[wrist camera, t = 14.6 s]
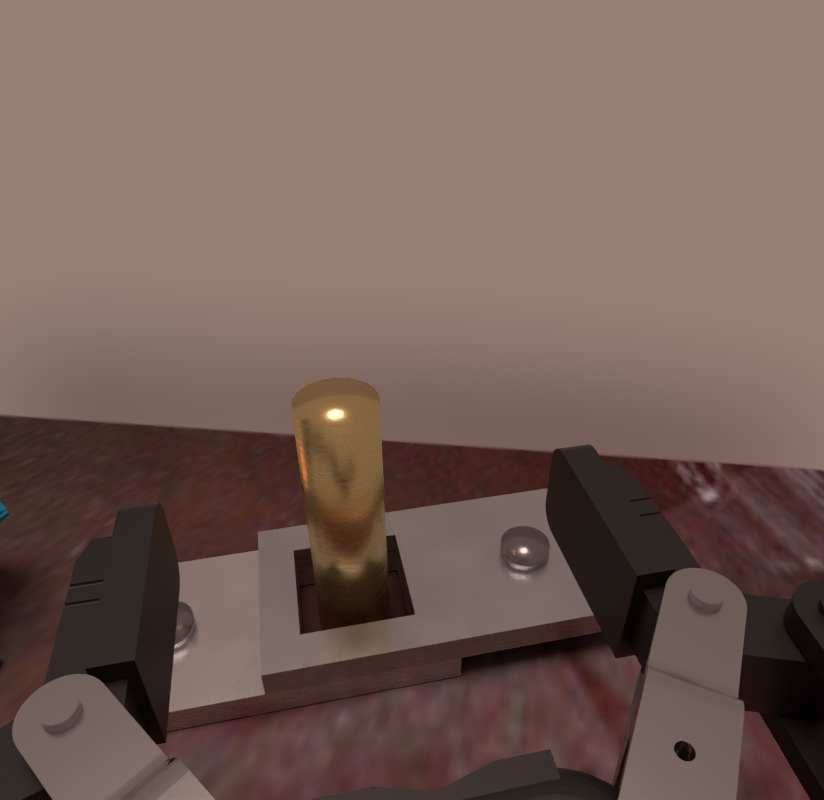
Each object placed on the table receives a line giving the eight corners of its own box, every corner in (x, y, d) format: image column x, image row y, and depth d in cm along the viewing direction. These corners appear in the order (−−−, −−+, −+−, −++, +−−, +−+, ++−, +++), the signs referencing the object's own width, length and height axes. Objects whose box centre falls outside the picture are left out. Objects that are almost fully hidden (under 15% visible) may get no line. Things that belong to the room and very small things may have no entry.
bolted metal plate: (87, 746, 27) (64, 700, 25) (118, 590, 34) (101, 545, 32) (616, 646, 30) (626, 599, 29) (550, 522, 37) (555, 478, 35)
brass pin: (323, 653, 30) (293, 432, 24) (317, 597, 33) (289, 383, 26) (395, 641, 31) (385, 420, 24) (384, 586, 34) (372, 373, 27)
